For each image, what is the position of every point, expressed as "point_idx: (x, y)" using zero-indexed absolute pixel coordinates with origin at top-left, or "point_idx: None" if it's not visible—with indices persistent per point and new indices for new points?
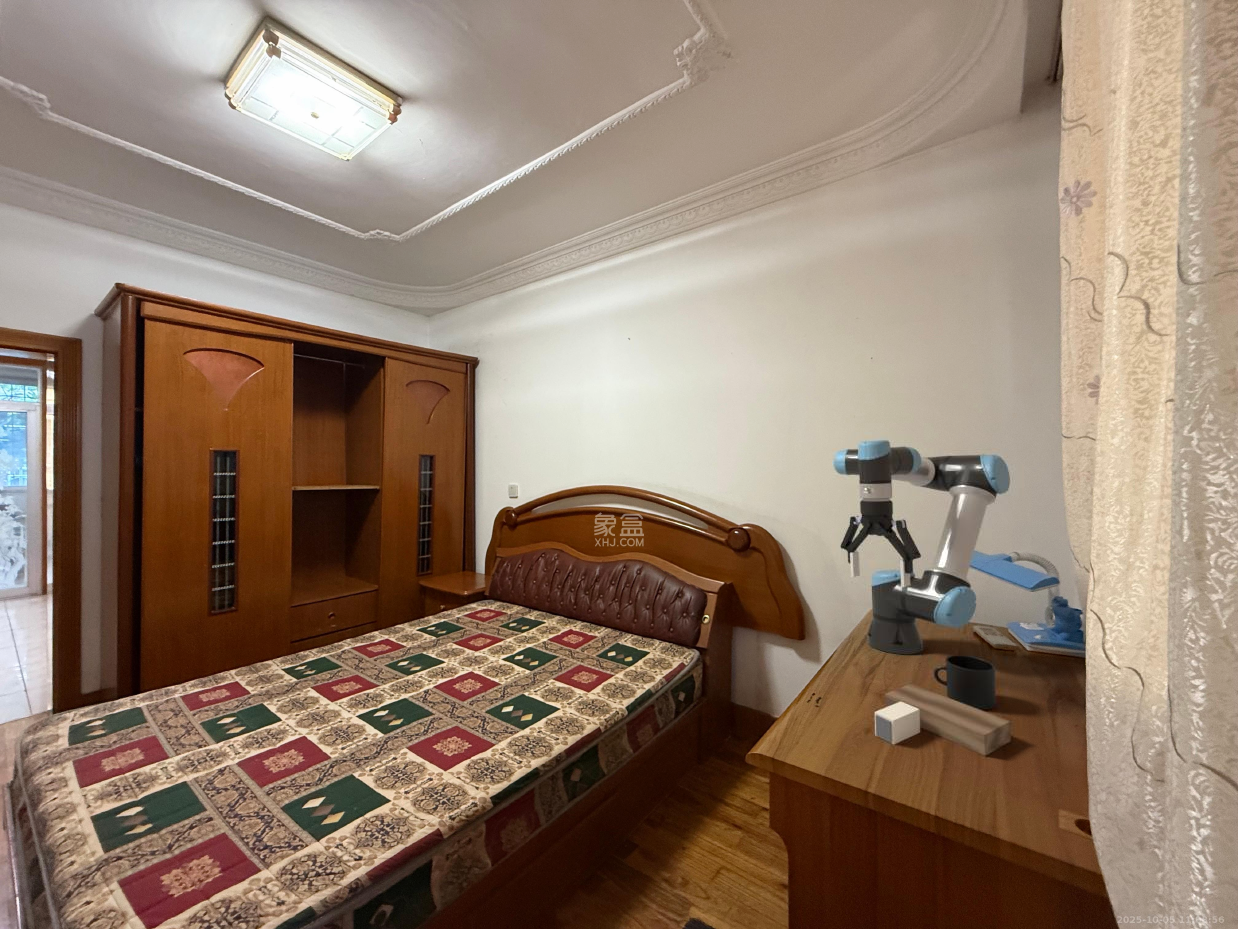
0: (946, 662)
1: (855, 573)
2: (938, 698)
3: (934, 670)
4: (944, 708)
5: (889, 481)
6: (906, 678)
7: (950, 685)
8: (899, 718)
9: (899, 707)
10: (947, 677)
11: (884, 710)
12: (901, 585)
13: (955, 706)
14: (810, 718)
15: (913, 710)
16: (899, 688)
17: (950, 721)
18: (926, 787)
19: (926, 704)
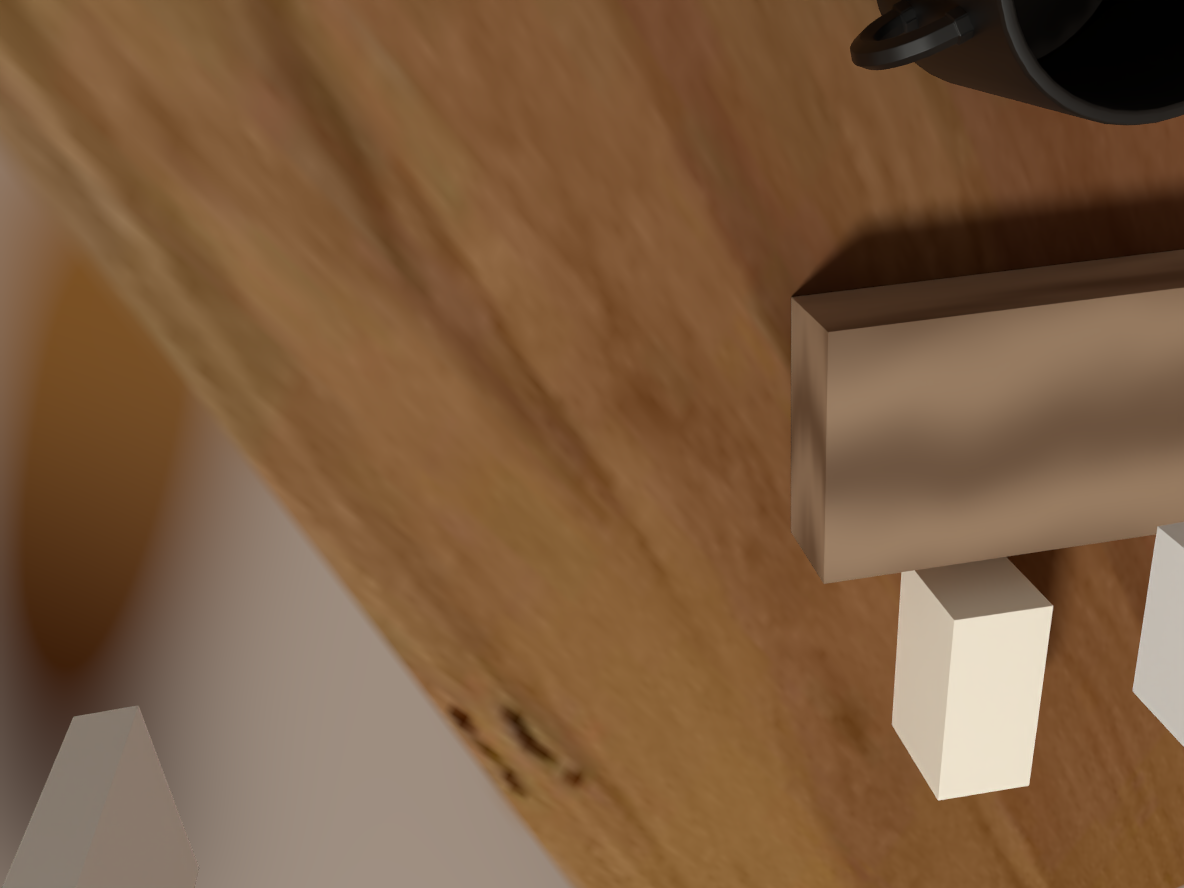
0: (1021, 75)
1: (166, 867)
2: (1030, 365)
3: (873, 66)
4: (1101, 443)
5: None
6: (560, 5)
7: (980, 87)
8: (1033, 744)
9: (985, 676)
10: (972, 72)
11: (956, 754)
12: (1152, 705)
13: (1130, 369)
14: (650, 863)
15: (1040, 639)
16: (828, 458)
17: None
18: (1168, 799)
19: (1021, 488)
